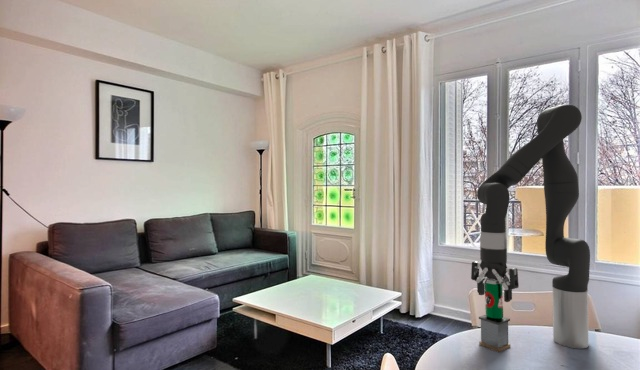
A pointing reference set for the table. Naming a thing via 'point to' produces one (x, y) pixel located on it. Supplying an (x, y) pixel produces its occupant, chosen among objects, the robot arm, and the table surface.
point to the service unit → (494, 333)
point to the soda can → (493, 299)
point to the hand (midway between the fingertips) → (494, 298)
